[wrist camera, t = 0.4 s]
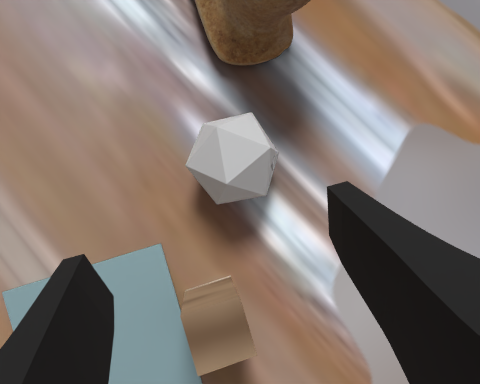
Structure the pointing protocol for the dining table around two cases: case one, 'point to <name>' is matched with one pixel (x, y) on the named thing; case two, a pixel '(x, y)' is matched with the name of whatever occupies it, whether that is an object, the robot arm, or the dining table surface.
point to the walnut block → (216, 326)
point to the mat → (134, 319)
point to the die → (233, 159)
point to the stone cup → (248, 28)
